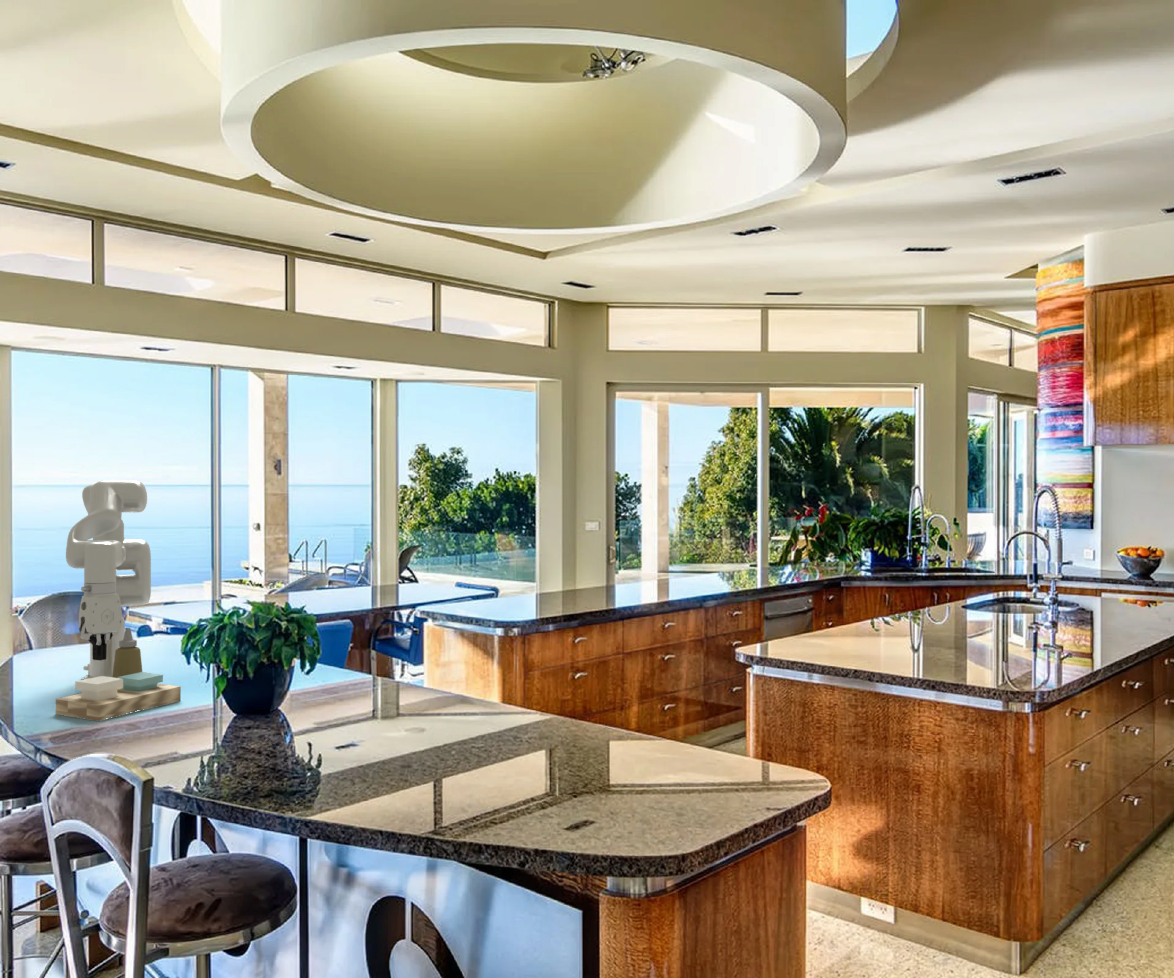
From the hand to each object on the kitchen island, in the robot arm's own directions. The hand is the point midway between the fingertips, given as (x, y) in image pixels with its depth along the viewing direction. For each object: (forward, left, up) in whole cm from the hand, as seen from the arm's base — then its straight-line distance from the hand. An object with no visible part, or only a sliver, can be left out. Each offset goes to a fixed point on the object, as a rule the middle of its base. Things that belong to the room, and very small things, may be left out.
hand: (99, 659), depth 257 cm
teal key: (0, +13, -12) cm, 18 cm away
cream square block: (0, 0, -11) cm, 11 cm away
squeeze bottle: (-16, +23, -14) cm, 31 cm away
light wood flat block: (0, +7, -14) cm, 16 cm away
